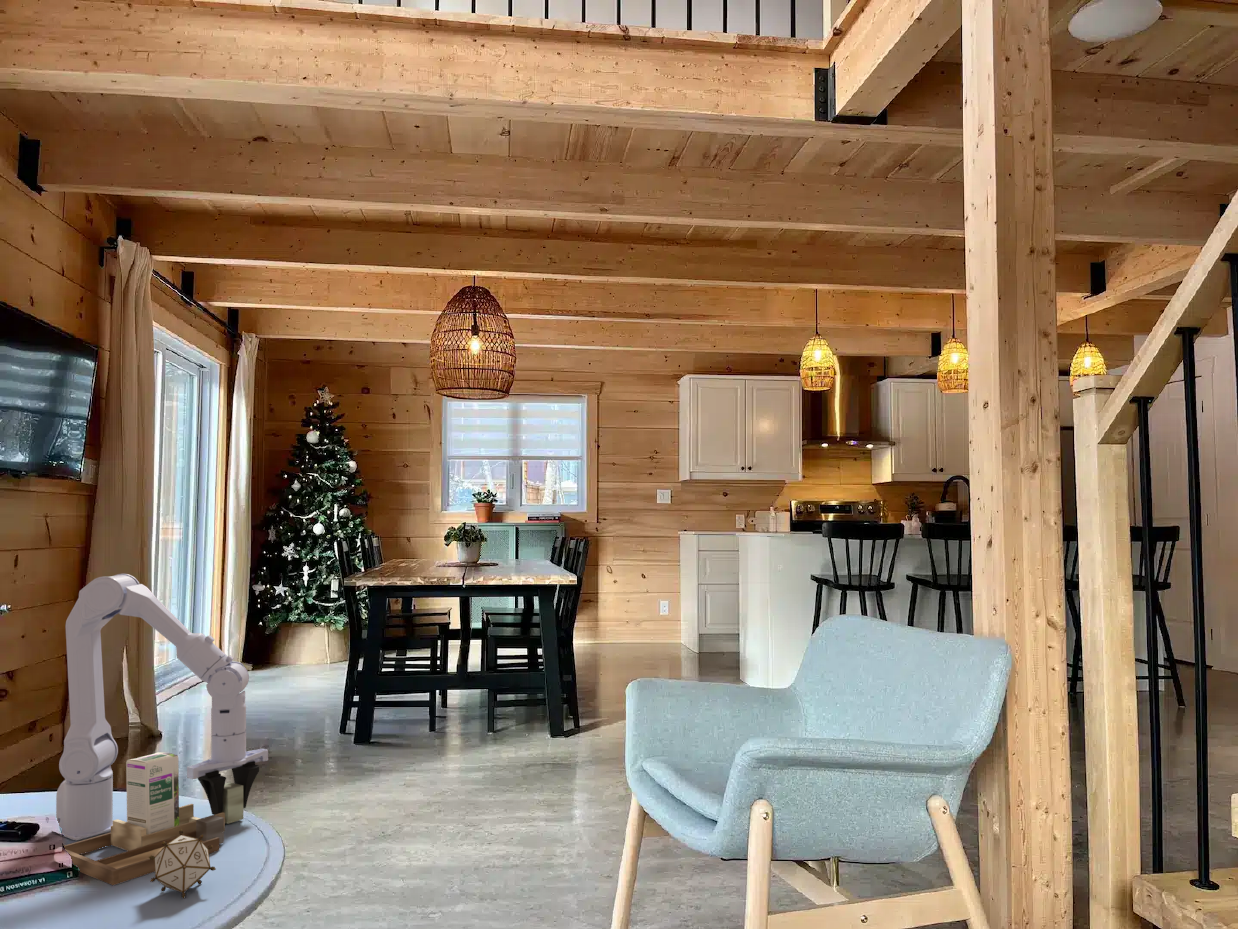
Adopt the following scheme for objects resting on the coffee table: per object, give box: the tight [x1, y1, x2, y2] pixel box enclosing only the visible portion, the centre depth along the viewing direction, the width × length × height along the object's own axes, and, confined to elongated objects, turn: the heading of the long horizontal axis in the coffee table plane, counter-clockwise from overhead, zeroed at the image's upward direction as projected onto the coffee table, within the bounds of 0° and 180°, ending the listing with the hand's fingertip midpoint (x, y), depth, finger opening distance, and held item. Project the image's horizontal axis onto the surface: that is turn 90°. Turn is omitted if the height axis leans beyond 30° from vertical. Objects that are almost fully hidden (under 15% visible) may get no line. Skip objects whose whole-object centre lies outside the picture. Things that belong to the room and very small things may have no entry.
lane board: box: [63, 830, 220, 886], centre depth 150 cm, size 18×17×2 cm
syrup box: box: [125, 751, 180, 835], centre depth 155 cm, size 6×6×14 cm
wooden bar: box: [107, 814, 225, 869], centre depth 149 cm, size 5×17×4 cm, turn 144°
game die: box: [149, 830, 217, 899], centre depth 135 cm, size 9×8×10 cm
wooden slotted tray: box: [110, 782, 244, 851], centre depth 160 cm, size 10×20×6 cm, turn 145°
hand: (229, 811), depth 167 cm, fingers open, 4 cm apart
